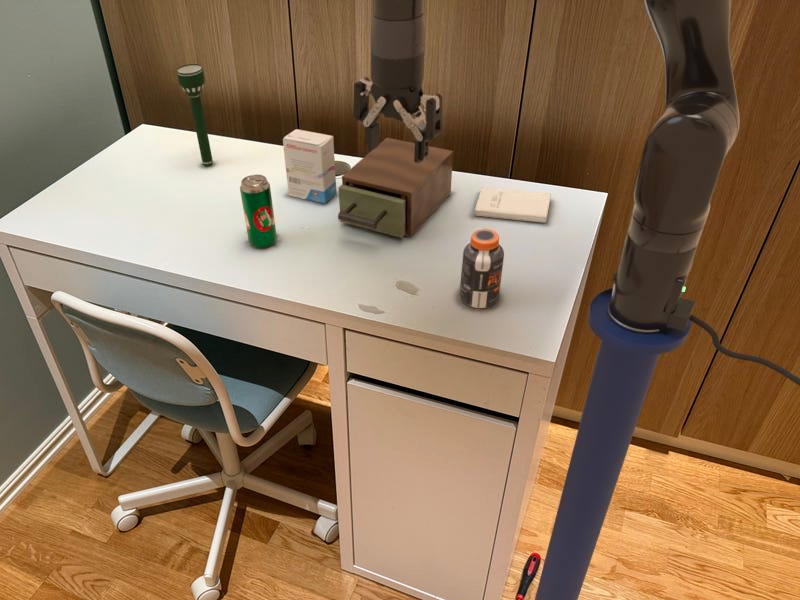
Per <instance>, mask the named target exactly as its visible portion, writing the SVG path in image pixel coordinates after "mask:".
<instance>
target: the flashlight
mask: <svg viewBox="0 0 800 600" xmlns="http://www.w3.org/2000/svg"><path fill="white" fill-rule="evenodd" d="M176 77H177V81H178V84H179V86H180V88H181V89H182V91H183V92H184V93H185V94H187V96H188V98H189V102H190V108H191V112H192V117H193V124H194V128H195V133H196V137H197V142H198V148H199V153H200V159H201V163H202V166H204V167H206V168H208V167H212V166H213V165H214V160H213V155H212V154H213V153H212V150H211V144H210V139H209V134H208V128H207V124H206V117H205V113H204V107H203V103H202V97H201V93H202V91H203V89H204V86H205V82H206V81H205V80H206V78H205V73H204V68H203V66H202V65H201V64H197V63H190V64H185V65H182V66H179V67H178V68H177V69H176Z"/></svg>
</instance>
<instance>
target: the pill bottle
mask: <svg viewBox="0 0 800 600" xmlns="http://www.w3.org/2000/svg"><path fill="white" fill-rule="evenodd" d="M462 253H463V254H462V260H461V261H462V262H461V273H460V285H459V298H460V300H461V302H462V303H464V304H466V305H467V306H468V307H471V308H475V309H485V308H489V307H492V306H493V305H495V304H497V302H498V301H499V298H500V291H501V284H502V283H501V282H502V275H503V266H504V259H505V251H504V248H503V246H501V244H500V235H499V233H498V232H497V231H495V230H493V229H489V228H480V229H476V230H474V231H473V232H472V233H471V236H470V242H468V243H467V244H466V245H465V247H464V248H463V252H462Z"/></svg>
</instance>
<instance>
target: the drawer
mask: <svg viewBox="0 0 800 600" xmlns="http://www.w3.org/2000/svg"><path fill="white" fill-rule="evenodd" d="M338 201H339V202H338V203H339V205H338V206H339V212H338V214H337V219H338V220H339V221H340V223H345V224H349V225H353V226H356V227H360V228H363V229H368V230H371V231H375V232H379V233H382V234H386V235H390V236H393V237H397V238H401V239H402V238H403V237H405V236H406V235H405V228H406V227H407V196H405V195H400V194H396V193H392V192H388V191H384V190H380V189H375V188H371V187H367V186H363V185H359V184H354V183H349V186H346V185H342V184H341V185H339V186H338Z"/></svg>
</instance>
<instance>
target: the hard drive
mask: <svg viewBox="0 0 800 600" xmlns="http://www.w3.org/2000/svg"><path fill="white" fill-rule="evenodd" d="M551 197H552V193H546V192H534V191H523V190H511V189H500V188H489V187H481V189H480V192H479V196H478V198H477V201H476V205H475V208H474V216H477V217H484V218H485V217H486V218H493V219H494V218H495V219H505V220H515V221H525V222H533V223H534V222H535V223H542V224H544V223H545V224H546V223H547V219H548V215H549V209H550V203H551Z"/></svg>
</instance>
